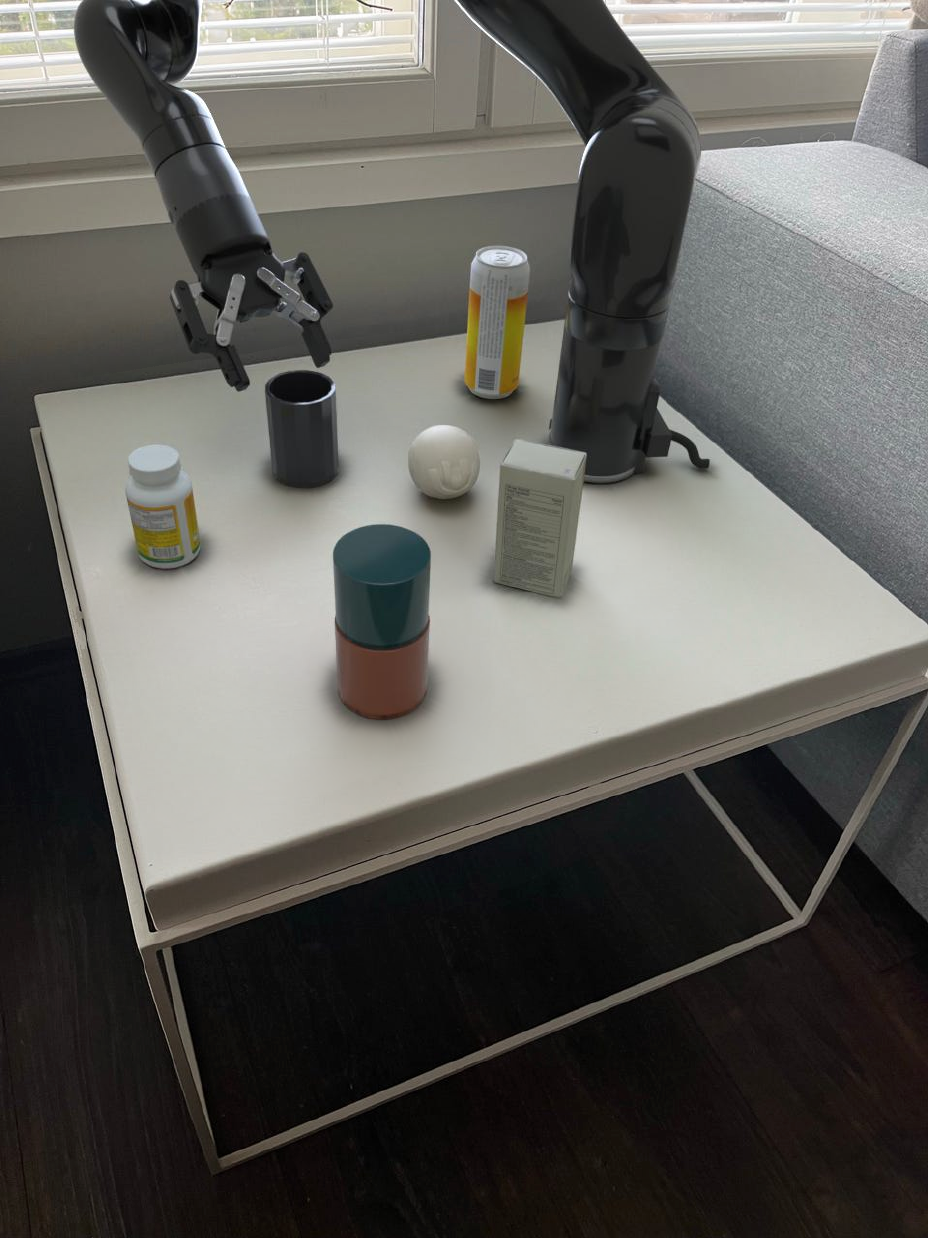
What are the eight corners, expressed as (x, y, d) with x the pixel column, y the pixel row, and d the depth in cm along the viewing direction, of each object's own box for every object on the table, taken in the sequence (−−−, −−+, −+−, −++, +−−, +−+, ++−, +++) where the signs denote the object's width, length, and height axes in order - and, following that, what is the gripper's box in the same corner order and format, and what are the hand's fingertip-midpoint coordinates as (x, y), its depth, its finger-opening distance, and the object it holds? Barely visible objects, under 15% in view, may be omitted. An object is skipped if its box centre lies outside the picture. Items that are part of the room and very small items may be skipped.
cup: (336, 450, 98) (333, 369, 92) (340, 486, 93) (337, 403, 87) (272, 452, 97) (265, 370, 91) (272, 489, 92) (264, 405, 86)
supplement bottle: (164, 578, 82) (145, 484, 76) (125, 551, 84) (104, 457, 78) (214, 550, 85) (200, 457, 79) (176, 524, 88) (159, 432, 81)
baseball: (421, 520, 90) (423, 459, 86) (399, 477, 95) (400, 417, 91) (489, 509, 92) (494, 449, 87) (464, 467, 97) (468, 408, 92)
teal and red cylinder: (421, 652, 77) (426, 520, 68) (432, 716, 72) (438, 582, 63) (335, 658, 76) (329, 524, 67) (340, 723, 71) (333, 588, 62)
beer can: (519, 377, 111) (532, 246, 101) (516, 403, 107) (529, 270, 97) (466, 372, 112) (474, 241, 101) (461, 398, 107) (469, 264, 97)
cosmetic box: (572, 570, 86) (592, 452, 78) (560, 600, 83) (579, 480, 74) (503, 552, 87) (515, 434, 79) (488, 581, 84) (499, 462, 76)
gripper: (147, 205, 83) (227, 382, 84) (292, 177, 90) (364, 342, 91) (131, 246, 89) (206, 410, 91) (268, 217, 96) (335, 370, 98)
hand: (285, 375), depth 91 cm, fingers open, 8 cm apart
